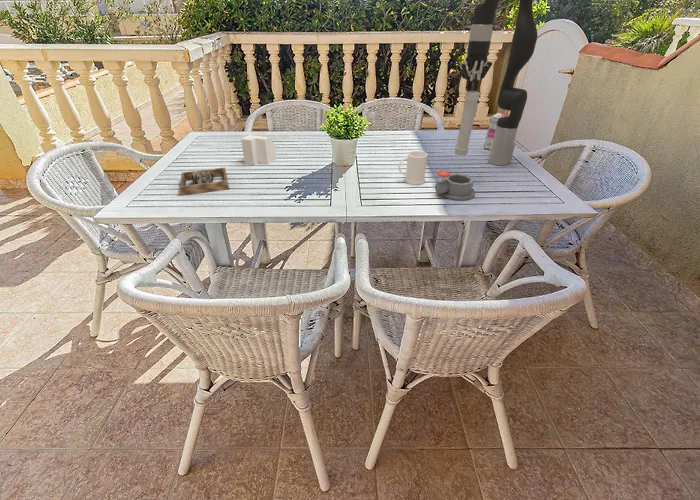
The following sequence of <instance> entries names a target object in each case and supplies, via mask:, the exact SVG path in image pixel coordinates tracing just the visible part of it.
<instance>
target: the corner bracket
mask: <svg viewBox="0 0 700 500" xmlns="http://www.w3.org/2000/svg"><path fill="white" fill-rule="evenodd" d="M240 142H241V148H242V154H243V160H244V165H249V166H250V165H251V166H256V165H258V164H263V165H270V164H271V163H273V162H275V161H276V160H278V157H277V148H276V143H274V141H272V139H271V138H270V137H269V136H268V137H267V136H260V135H254V134H253V135H252V134H249V135H246V136H244V137H242V138H241V139H240Z"/></svg>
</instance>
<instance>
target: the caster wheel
mask: <svg viewBox="0 0 700 500" xmlns="http://www.w3.org/2000/svg"><path fill="white" fill-rule="evenodd" d="M207 170H208V169H207ZM191 181H192V182H193V183H194V185H195V184H203V183H211V182H212V181H214V177H213V175H212V174H210V172H209V170H208V171H202V172H193V175H192V180H191Z"/></svg>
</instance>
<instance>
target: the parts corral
mask: <svg viewBox="0 0 700 500" xmlns="http://www.w3.org/2000/svg"><path fill="white" fill-rule="evenodd" d="M208 170H209V172H210V174H212V175H213V178H219V177H223V178H224V180H220V181H213V182H212V181H211V183H203V184H195V183H194V184H191V185H189V184H188V185H187V181H193V180H192V175H193V172H202V171H208ZM180 173H181V175H180V185H179V186H180V192H181V194H182V196H188V195H189V196H190V195H196V194H204V193H210V192H211V193H212V192H217V191H226V190H230V187H229V182H228V181H229V180H228V175H227V170H226V167H219V168H208V169H202V170H192V171H184V172H180Z"/></svg>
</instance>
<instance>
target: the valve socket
mask: <svg viewBox="0 0 700 500" xmlns="http://www.w3.org/2000/svg"><path fill="white" fill-rule="evenodd" d="M437 176H439V177H440V178H441V181H439V182H436V183H435V185H434V189H435V192H436V194H438V195H440V196H442V197H443V198H445V199H447V200H452V201H457V202H458V201H459V202H460V201H461V202H463V201H465V202H466V201H469V200H472V199H473V198H475V195H476V190H475V189H474V188H473V185H474V178H472V177H470V176H469V175H467V174H462V173H461V174H460V173H452V174H451V171H449V170H442V169H441V170H440V169H439V170H438V171H437Z"/></svg>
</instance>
